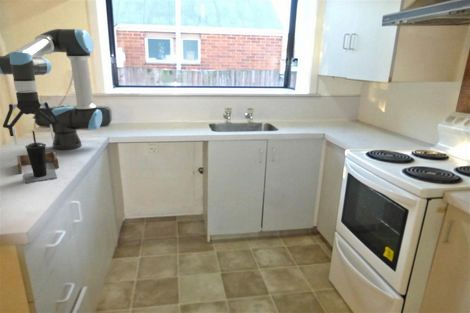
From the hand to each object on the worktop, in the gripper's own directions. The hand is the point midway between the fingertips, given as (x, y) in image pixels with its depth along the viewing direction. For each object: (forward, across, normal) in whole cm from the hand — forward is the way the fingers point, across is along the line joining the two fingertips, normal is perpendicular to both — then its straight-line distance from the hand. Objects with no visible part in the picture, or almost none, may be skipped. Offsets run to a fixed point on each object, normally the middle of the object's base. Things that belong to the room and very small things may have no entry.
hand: (35, 141), depth 139 cm
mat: (+16, 0, 0) cm, 16 cm away
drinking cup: (+15, 0, 0) cm, 16 cm away
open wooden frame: (+16, 0, -16) cm, 22 cm away
